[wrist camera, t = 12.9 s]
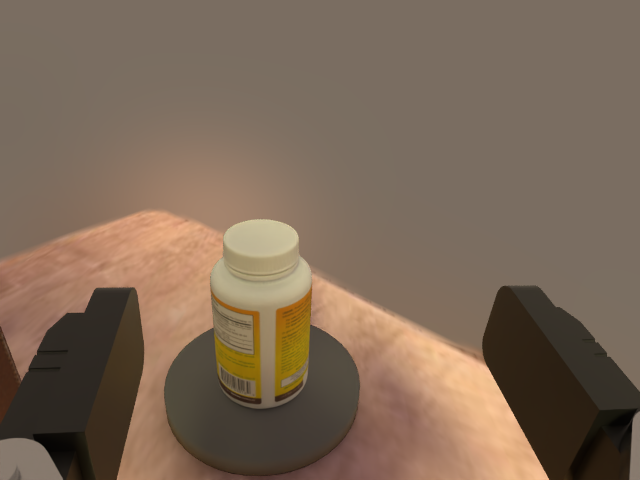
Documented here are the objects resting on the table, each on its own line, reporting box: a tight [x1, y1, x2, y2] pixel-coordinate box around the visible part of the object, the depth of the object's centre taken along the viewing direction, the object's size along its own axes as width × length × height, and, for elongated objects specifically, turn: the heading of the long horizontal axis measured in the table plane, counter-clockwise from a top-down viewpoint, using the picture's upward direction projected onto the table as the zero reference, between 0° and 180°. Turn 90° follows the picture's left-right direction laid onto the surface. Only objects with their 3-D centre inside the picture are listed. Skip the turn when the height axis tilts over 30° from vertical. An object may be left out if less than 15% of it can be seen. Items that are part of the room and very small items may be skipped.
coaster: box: [164, 325, 360, 476], centre depth 32 cm, size 12×12×1 cm
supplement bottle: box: [210, 219, 312, 409], centre depth 29 cm, size 6×6×10 cm
